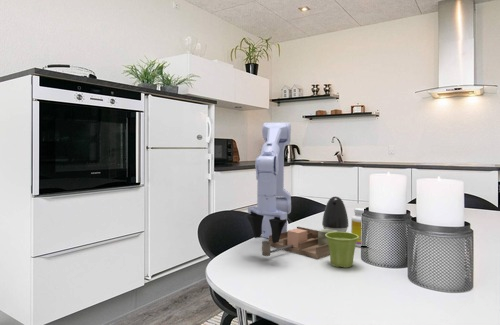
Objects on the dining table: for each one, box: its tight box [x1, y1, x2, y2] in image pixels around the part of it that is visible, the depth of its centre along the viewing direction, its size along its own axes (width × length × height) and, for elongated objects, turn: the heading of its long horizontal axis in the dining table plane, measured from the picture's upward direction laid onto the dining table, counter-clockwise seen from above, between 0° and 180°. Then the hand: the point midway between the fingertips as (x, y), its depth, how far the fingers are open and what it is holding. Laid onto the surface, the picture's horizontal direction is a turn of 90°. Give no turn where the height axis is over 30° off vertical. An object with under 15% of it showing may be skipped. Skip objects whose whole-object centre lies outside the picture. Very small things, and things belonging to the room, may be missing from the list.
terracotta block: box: [261, 228, 307, 257], centre depth 111 cm, size 4×19×5 cm, turn 134°
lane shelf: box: [268, 226, 338, 260], centre depth 120 cm, size 20×16×6 cm
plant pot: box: [325, 231, 359, 269], centre depth 102 cm, size 9×9×9 cm
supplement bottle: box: [350, 207, 365, 248], centre depth 123 cm, size 7×7×13 cm
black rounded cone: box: [321, 196, 349, 232], centre depth 139 cm, size 10×10×15 cm
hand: (266, 239), depth 106 cm, fingers open, 7 cm apart
